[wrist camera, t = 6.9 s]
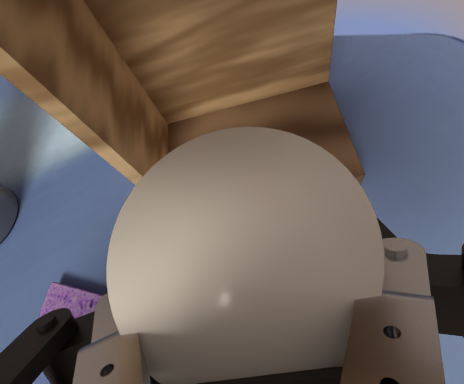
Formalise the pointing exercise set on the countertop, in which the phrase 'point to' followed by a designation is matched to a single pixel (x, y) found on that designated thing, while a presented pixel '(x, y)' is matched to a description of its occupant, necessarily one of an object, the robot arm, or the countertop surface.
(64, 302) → the sponges
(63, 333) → the robot arm
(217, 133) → the candle
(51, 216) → the countertop surface
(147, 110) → the wooden c-shaped stand
